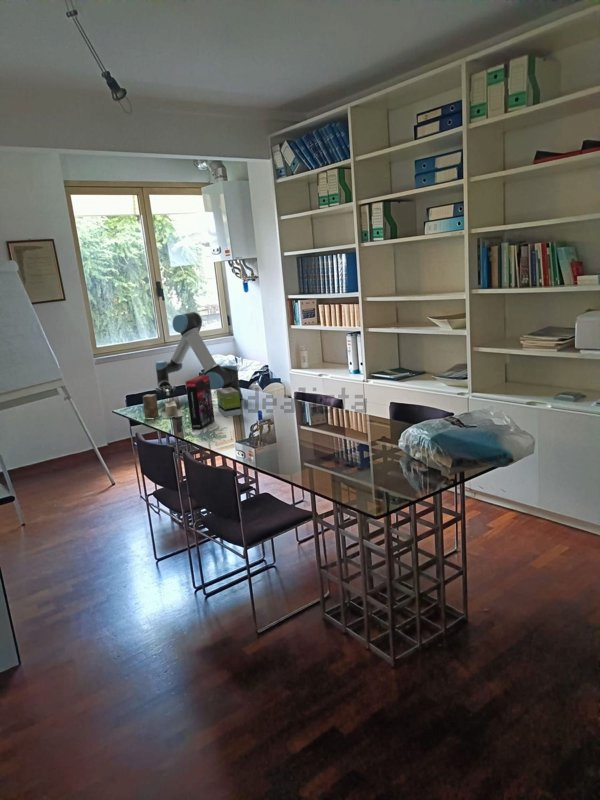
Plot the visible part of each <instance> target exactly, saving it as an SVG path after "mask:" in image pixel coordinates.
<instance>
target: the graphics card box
mask: <svg viewBox="0 0 600 800" xmlns="http://www.w3.org/2000/svg"><path fill="white" fill-rule="evenodd" d="M185 388H186V389H185V390H186V395H187V403H188V409H189V418H190V425H191V429H192V430H203V429H205V428H206V427H207V426H209V425H211V424H213V423H215V421H216V420H215V413H214V405H213V397H212V389H211V388H210V380H209V376H205V375H200V374H199V375H198V376H196V377H193V378H191V379H188V380H186V381H185Z"/></svg>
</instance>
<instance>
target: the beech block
mask: <svg viewBox="0 0 600 800" xmlns="http://www.w3.org/2000/svg"><path fill="white" fill-rule="evenodd" d="M164 409H165V411H164V412H166V413H167V416H168V417H169V416H176V415H178V412H177V410H178V405H177V404H176V401H175V400H169V401H164Z"/></svg>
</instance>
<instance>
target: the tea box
mask: <svg viewBox="0 0 600 800" xmlns="http://www.w3.org/2000/svg"><path fill="white" fill-rule="evenodd" d="M215 391H216V399H217V406H218V407H217V408H218V413H220V414H221V415H222V416H224V417H225V418H229V417H228V416H232V417H235V416H234V415H237V416H241V415H242V405H241V400H240V395H239V391H237V390H235V389H234V388H232V387H229V388H223V389H222V388H220V389H216V390H215ZM240 414H241V415H240Z"/></svg>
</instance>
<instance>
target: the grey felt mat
mask: <svg viewBox="0 0 600 800" xmlns="http://www.w3.org/2000/svg"><path fill="white" fill-rule="evenodd" d="M177 412H178V415H176V416H169V417H168V416H167V413H166V411H160V414H161V417H162V419H163V418H168V419H174V418H173V417H175V418H181V416H183V417H184V414H183V413H182V410H181V409H177Z"/></svg>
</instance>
